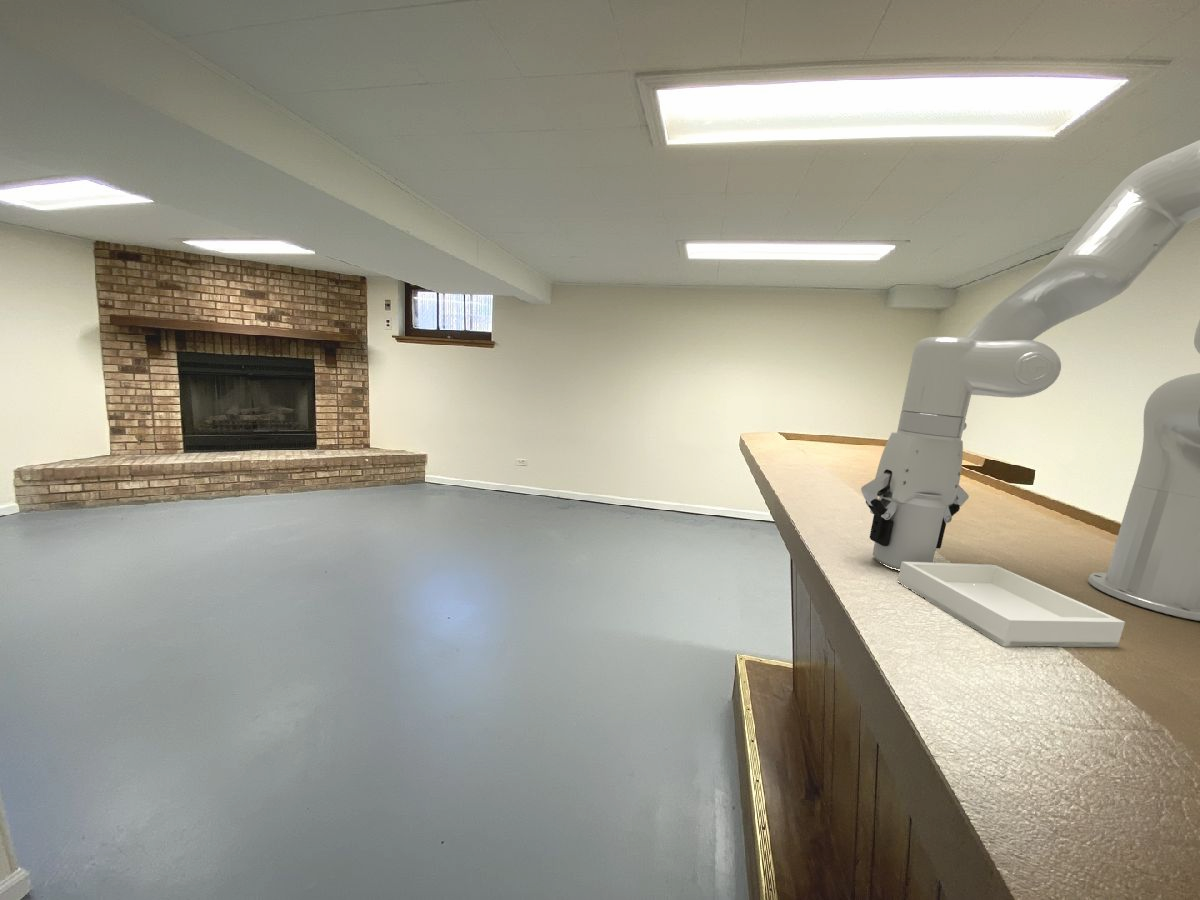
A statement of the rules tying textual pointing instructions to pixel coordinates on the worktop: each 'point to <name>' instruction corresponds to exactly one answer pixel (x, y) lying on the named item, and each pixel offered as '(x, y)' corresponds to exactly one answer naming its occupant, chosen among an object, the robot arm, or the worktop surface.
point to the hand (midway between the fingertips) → (904, 543)
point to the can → (913, 531)
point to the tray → (1010, 606)
